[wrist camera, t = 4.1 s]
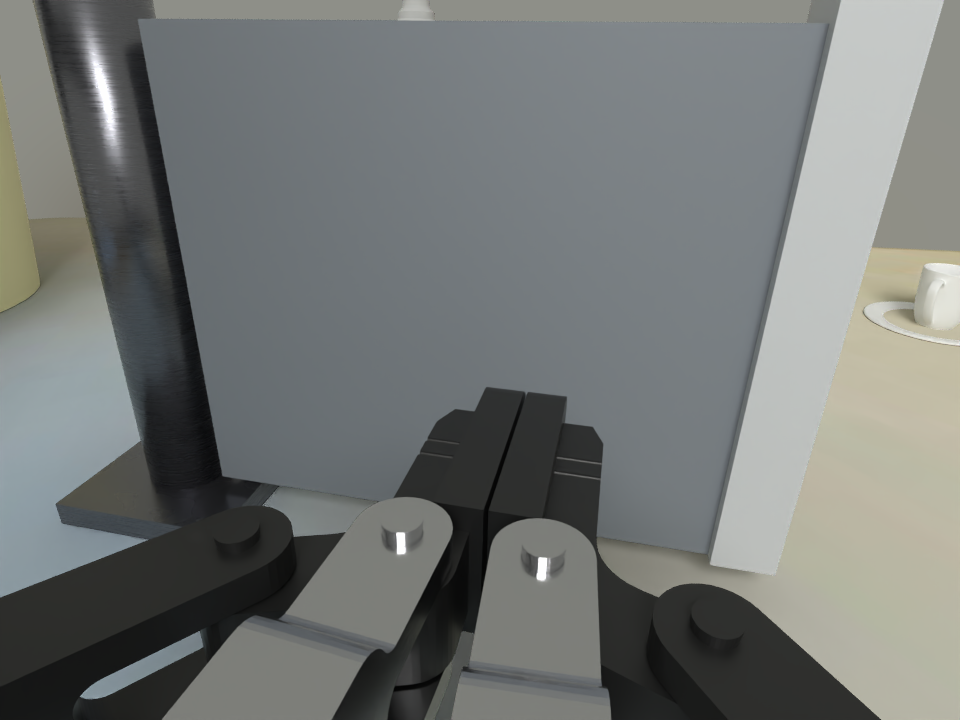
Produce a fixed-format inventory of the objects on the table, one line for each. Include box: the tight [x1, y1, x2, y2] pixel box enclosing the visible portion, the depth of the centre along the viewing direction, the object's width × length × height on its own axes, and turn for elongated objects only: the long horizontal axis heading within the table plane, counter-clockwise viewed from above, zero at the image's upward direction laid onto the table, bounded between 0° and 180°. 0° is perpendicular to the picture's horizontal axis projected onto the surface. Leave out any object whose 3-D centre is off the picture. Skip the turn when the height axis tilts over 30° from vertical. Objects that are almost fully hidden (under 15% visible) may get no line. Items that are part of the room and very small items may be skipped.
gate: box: [138, 0, 944, 576], centre depth 17 cm, size 18×2×15 cm, turn 78°
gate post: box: [33, 0, 279, 539], centre depth 18 cm, size 6×6×21 cm
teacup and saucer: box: [864, 263, 960, 346], centre depth 40 cm, size 9×8×4 cm
